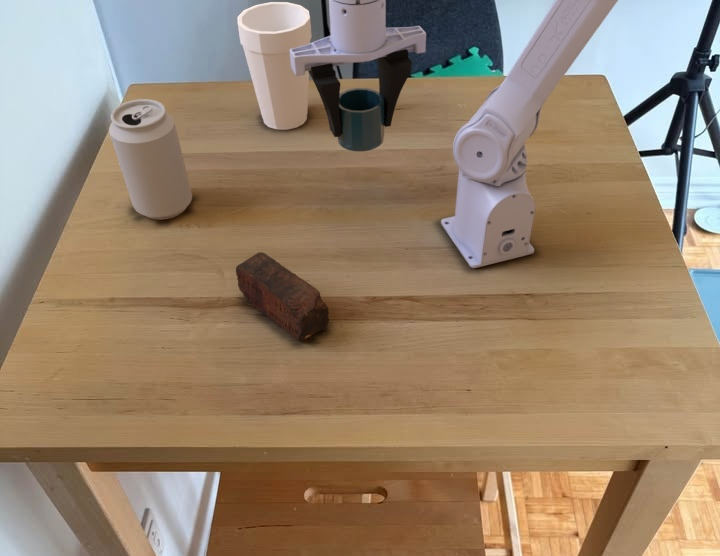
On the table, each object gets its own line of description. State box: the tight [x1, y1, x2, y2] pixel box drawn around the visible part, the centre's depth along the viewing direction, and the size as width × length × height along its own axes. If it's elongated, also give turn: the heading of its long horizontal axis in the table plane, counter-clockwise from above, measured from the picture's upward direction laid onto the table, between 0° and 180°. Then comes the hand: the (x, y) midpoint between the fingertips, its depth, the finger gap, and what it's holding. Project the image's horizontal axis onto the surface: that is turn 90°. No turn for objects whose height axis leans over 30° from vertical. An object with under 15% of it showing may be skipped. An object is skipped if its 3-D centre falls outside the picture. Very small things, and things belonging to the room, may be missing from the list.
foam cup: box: [236, 1, 313, 131], centre depth 96 cm, size 10×9×13 cm
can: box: [108, 98, 193, 220], centre depth 85 cm, size 8×8×12 cm
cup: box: [337, 87, 385, 152], centre depth 81 cm, size 5×6×4 cm
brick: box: [235, 251, 330, 342], centre depth 76 cm, size 11×4×5 cm, turn 44°
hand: (360, 127), depth 82 cm, fingers closed on cup, 5 cm apart
